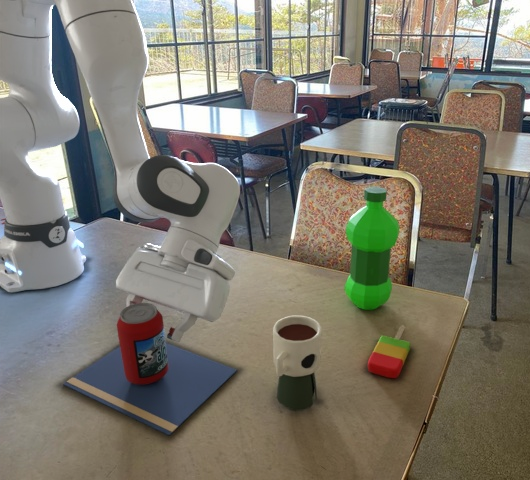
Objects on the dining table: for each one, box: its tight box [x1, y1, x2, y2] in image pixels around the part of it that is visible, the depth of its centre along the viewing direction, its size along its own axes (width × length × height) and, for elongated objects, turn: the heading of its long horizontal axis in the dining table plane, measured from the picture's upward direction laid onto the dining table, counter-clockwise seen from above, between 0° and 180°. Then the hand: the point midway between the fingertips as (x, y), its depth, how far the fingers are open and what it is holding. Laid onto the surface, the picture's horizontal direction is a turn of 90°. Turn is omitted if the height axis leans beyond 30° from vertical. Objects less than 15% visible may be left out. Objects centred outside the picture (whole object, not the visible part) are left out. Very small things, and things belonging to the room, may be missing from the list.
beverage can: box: [116, 302, 169, 385], centre depth 76 cm, size 7×7×12 cm
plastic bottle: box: [344, 186, 400, 311], centre depth 96 cm, size 10×10×25 cm
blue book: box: [62, 342, 238, 436], centre depth 78 cm, size 22×16×1 cm
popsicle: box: [367, 324, 411, 379], centre depth 86 cm, size 6×15×2 cm, turn 157°
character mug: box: [272, 314, 323, 411], centre depth 72 cm, size 11×7×13 cm, turn 153°
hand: (150, 331), depth 77 cm, fingers open, 8 cm apart
